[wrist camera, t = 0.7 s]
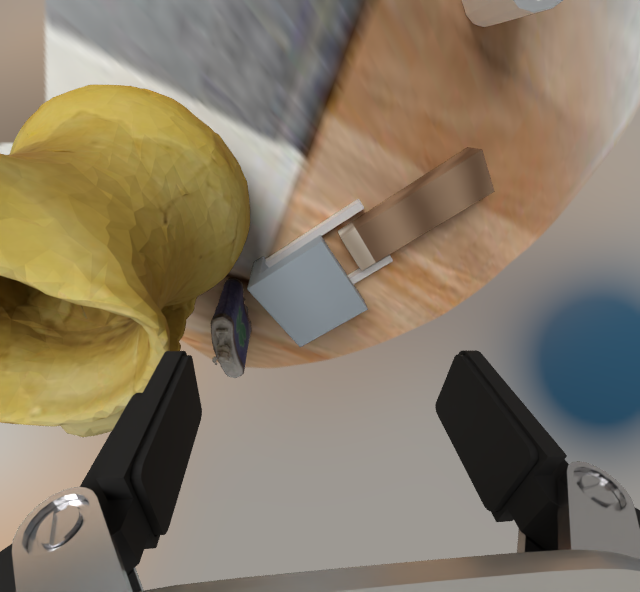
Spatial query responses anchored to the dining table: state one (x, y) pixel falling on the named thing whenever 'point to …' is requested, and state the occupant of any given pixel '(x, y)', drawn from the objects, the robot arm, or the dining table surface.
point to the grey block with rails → (310, 283)
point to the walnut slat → (418, 207)
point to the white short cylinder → (503, 10)
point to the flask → (231, 329)
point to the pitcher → (107, 249)
